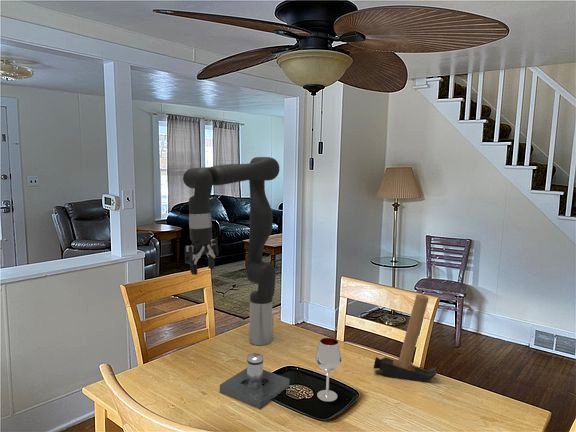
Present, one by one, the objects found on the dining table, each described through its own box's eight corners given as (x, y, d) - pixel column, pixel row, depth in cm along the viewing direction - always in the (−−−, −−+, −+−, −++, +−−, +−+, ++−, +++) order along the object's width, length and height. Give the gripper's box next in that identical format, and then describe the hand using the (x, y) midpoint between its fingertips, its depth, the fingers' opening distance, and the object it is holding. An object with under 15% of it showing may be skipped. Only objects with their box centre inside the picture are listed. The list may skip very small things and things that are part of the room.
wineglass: (323, 405, 126) (325, 349, 124) (309, 392, 133) (311, 338, 131) (345, 399, 129) (347, 344, 127) (330, 386, 137) (332, 334, 135)
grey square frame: (250, 372, 145) (250, 365, 145) (289, 386, 136) (289, 378, 136) (219, 392, 132) (219, 384, 131) (259, 409, 123) (260, 401, 123)
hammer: (430, 382, 146) (453, 302, 141) (432, 389, 141) (455, 307, 136) (373, 364, 150) (394, 286, 145) (373, 371, 145) (394, 290, 140)
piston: (253, 383, 138) (254, 351, 136) (265, 388, 135) (266, 356, 134) (243, 389, 133) (243, 357, 132) (255, 395, 130) (256, 361, 129)
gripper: (193, 230, 136) (196, 278, 138) (222, 223, 148) (224, 267, 150) (177, 228, 140) (180, 275, 142) (206, 222, 152) (209, 265, 154)
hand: (203, 271), depth 146 cm, fingers open, 8 cm apart
